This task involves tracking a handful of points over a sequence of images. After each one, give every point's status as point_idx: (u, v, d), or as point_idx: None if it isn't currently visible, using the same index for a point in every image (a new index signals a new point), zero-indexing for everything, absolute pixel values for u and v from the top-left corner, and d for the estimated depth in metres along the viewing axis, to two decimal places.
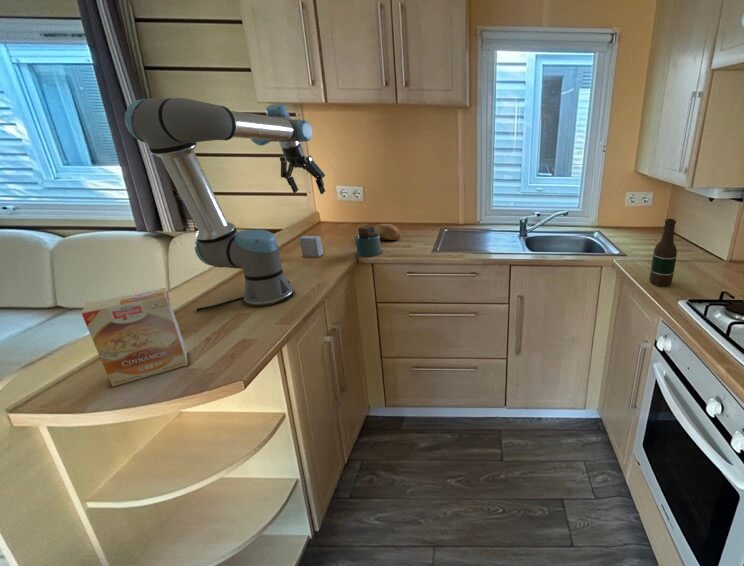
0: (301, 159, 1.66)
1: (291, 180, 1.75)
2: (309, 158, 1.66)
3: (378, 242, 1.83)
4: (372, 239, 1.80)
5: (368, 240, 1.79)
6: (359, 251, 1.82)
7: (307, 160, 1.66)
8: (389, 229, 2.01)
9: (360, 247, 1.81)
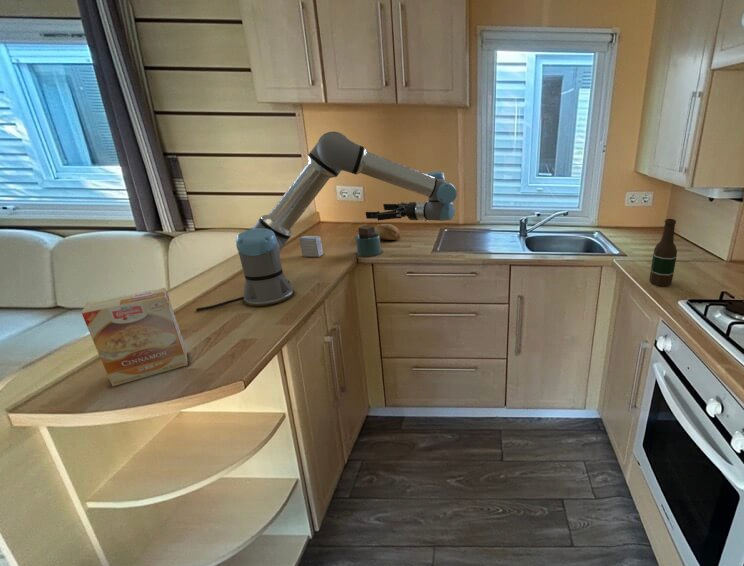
0: (402, 210, 1.67)
1: (394, 206, 1.79)
2: (398, 214, 1.65)
3: (378, 242, 1.83)
4: (372, 239, 1.80)
5: (368, 240, 1.79)
6: (359, 251, 1.82)
7: (398, 212, 1.65)
8: (389, 229, 2.01)
9: (360, 247, 1.81)
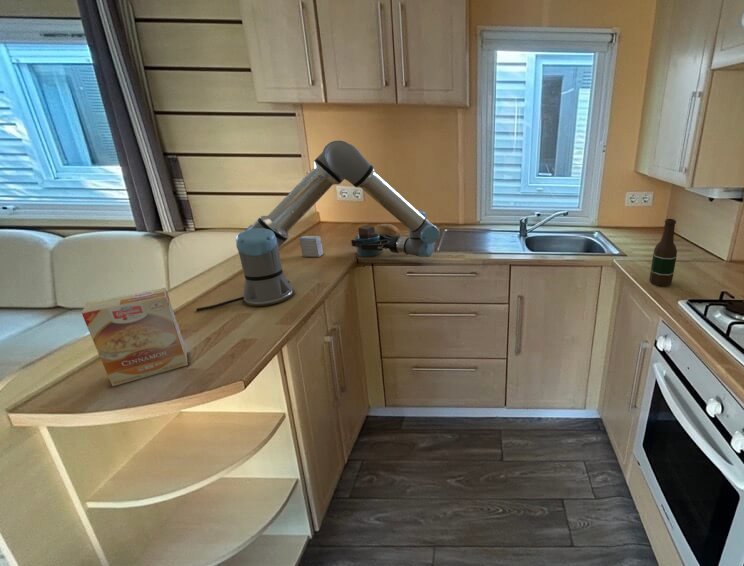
0: (385, 243, 1.77)
1: None
2: (380, 247, 1.74)
3: None
4: (372, 239, 1.80)
5: (368, 240, 1.79)
6: (359, 251, 1.82)
7: (379, 244, 1.74)
8: (389, 229, 2.01)
9: (360, 247, 1.81)
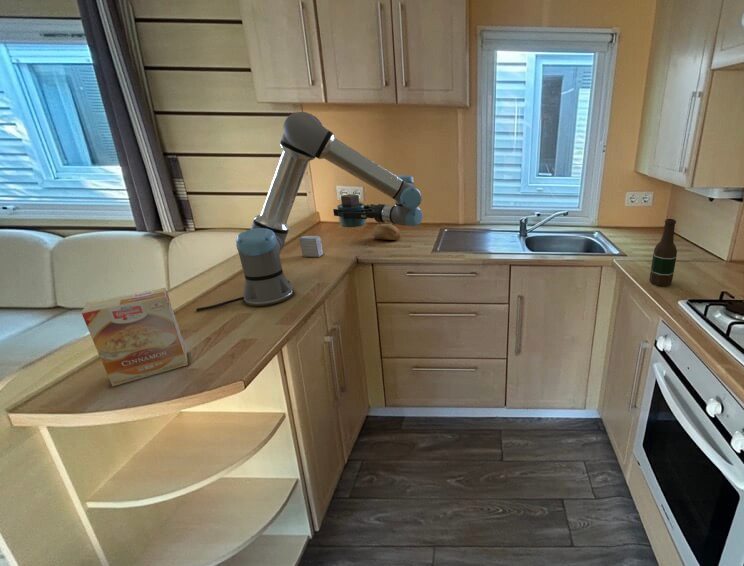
0: (369, 212, 1.63)
1: None
2: (363, 215, 1.60)
3: None
4: (356, 208, 1.66)
5: (351, 209, 1.66)
6: (342, 221, 1.68)
7: (363, 212, 1.61)
8: (389, 229, 2.01)
9: (342, 217, 1.67)
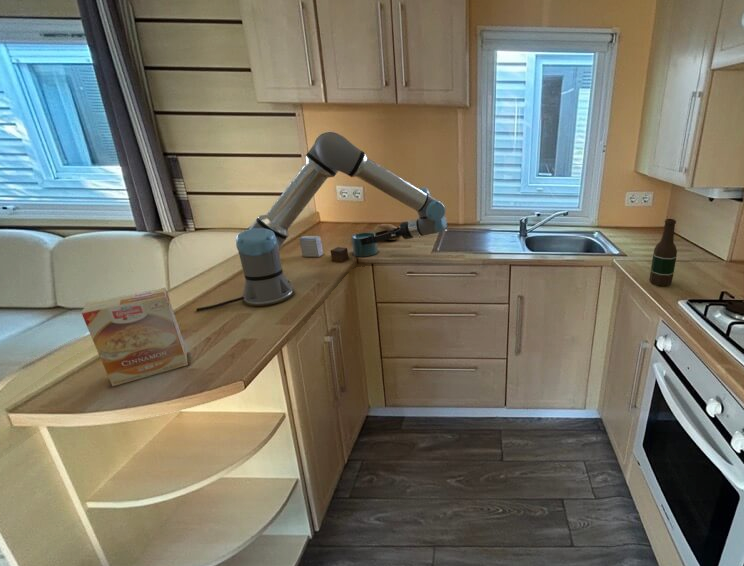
0: (396, 231, 1.72)
1: (386, 232, 1.84)
2: (393, 234, 1.69)
3: None
4: None
5: None
6: (355, 251, 1.82)
7: (392, 232, 1.70)
8: (389, 229, 2.01)
9: (355, 247, 1.81)
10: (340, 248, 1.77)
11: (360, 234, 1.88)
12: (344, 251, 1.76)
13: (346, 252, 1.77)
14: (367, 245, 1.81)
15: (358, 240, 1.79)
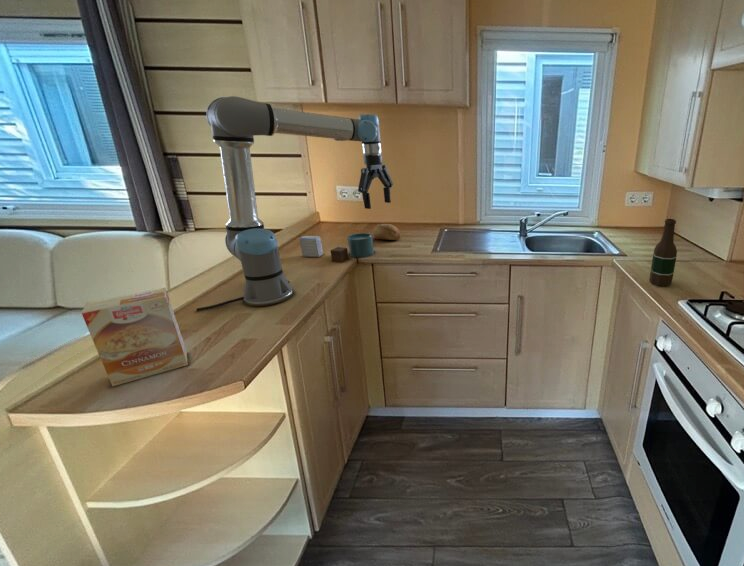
0: None
1: (385, 190, 1.79)
2: (362, 169, 1.64)
3: (369, 243, 1.82)
4: (362, 240, 1.79)
5: (358, 241, 1.78)
6: (350, 251, 1.82)
7: None
8: (389, 229, 2.01)
9: (350, 247, 1.81)
10: (340, 248, 1.77)
11: (358, 234, 1.87)
12: (344, 251, 1.76)
13: (346, 252, 1.77)
14: (361, 246, 1.80)
15: (353, 241, 1.79)
